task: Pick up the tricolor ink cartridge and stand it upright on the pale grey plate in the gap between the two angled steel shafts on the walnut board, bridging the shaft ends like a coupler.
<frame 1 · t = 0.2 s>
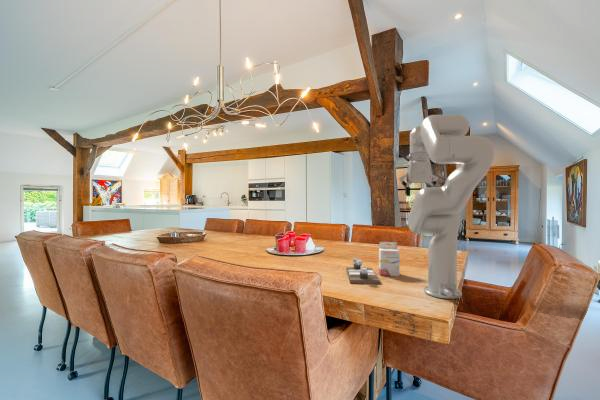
hand: (418, 195, 131), 36 cm above the table, tool pointing down, fingers open, 9 cm apart
ink cartridge box: (389, 275, 134), on the table
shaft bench: (361, 276, 131), on the table
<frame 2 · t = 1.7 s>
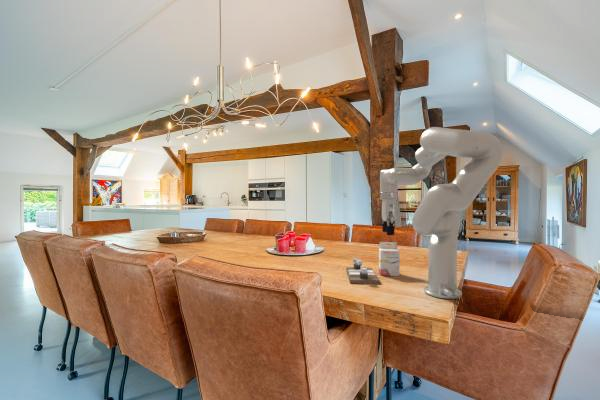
hand: (388, 233, 134), 19 cm above the table, tool pointing down, fingers open, 9 cm apart
nothing on the table moved.
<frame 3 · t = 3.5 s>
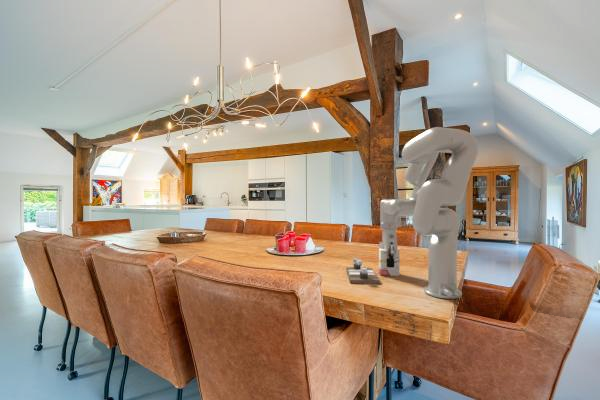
hand: (389, 265, 134), 4 cm above the table, tool pointing down, fingers closed on ink cartridge box, 5 cm apart
ink cartridge box: (389, 274, 134), on the table, touching gripper
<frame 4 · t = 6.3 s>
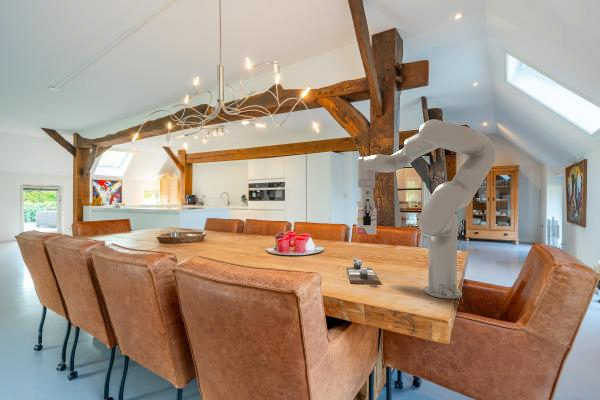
hand: (366, 224, 131), 24 cm above the table, tool pointing down, fingers closed on ink cartridge box, 5 cm apart
ink cartridge box: (366, 234, 131), point 19 cm above the table, touching gripper
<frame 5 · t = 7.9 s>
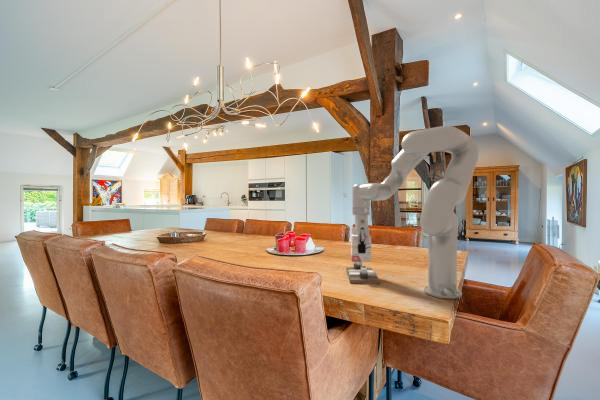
hand: (360, 251, 131), 11 cm above the table, tool pointing down, fingers closed on ink cartridge box, 5 cm apart
ink cartridge box: (360, 261, 131), point 7 cm above the table, touching gripper
when the fingers open (7 cm above the table, at t = 9.1 s): ink cartridge box stays where it is, resting on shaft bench.
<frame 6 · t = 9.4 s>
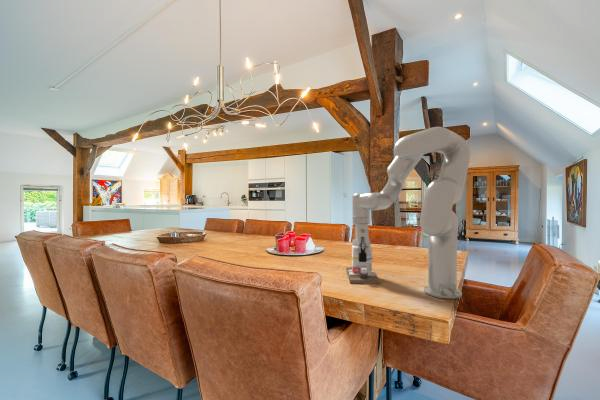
hand: (361, 259, 131), 8 cm above the table, tool pointing down, fingers open, 8 cm apart
ink cartridge box: (361, 272, 131), point 2 cm above the table, touching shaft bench
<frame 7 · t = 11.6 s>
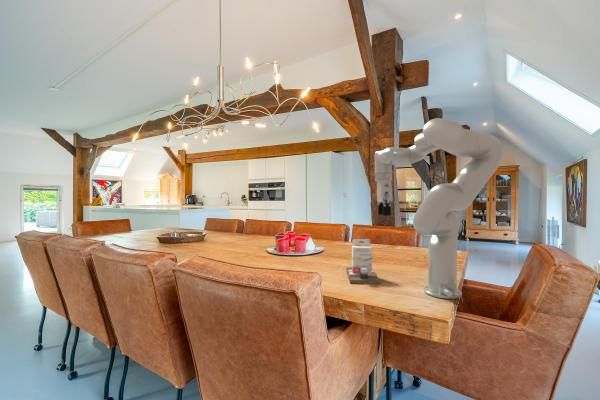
hand: (384, 215, 133), 27 cm above the table, tool pointing down, fingers open, 9 cm apart
nothing on the table moved.
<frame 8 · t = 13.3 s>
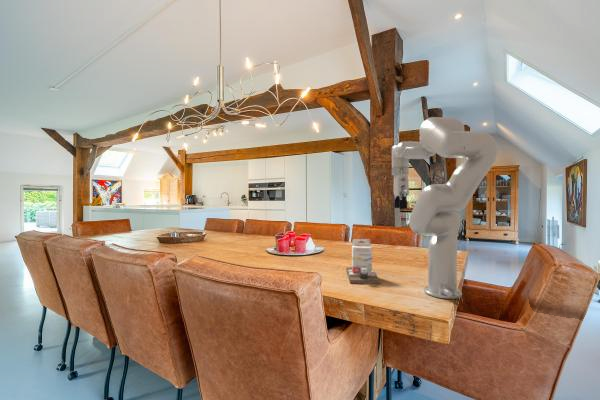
hand: (400, 208, 136), 30 cm above the table, tool pointing down, fingers open, 9 cm apart
nothing on the table moved.
at the end: ink cartridge box 0.4 cm off-centre on the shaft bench, point 1.8 cm above the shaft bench's base; ink cartridge box tilted 0°; the gripper is holding nothing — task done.
